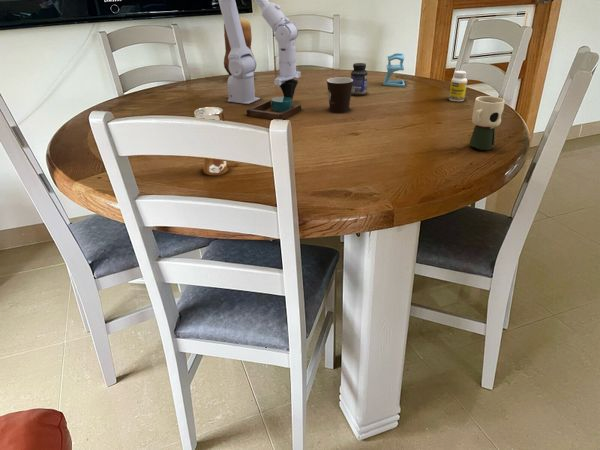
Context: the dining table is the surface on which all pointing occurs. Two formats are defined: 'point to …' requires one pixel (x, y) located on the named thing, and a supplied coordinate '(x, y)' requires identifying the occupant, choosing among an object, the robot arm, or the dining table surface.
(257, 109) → the walnut bay
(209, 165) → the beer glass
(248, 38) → the butternut squash
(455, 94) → the supplement bottle
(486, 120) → the character mug
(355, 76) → the pill bottle
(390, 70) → the chair
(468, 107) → the dining table surface
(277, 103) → the teal puck
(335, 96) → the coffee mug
